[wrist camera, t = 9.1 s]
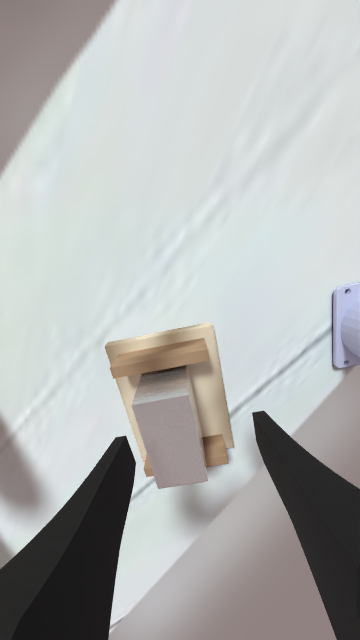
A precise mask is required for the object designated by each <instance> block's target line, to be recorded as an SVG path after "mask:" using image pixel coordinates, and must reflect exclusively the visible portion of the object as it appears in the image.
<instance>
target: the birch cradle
mask: <svg viewBox="0 0 360 640" xmlns="http://www.w3.org/2000/svg"><path fill="white" fill-rule="evenodd" d="M105 349H106V352H107V355H108V358H109V361H110V364H111V367H110V370H111V373H112V376H113V379H114V378H115V379H116V382H117V385H118V388H119V391H120V394H121V397H122V400H123V403H124V406H125V409H126V412H127V415H128V418H129V421H130V424H131V427H132V430H133V433H134V436H135V439H136V442H137V445H138V448H139V451H140V454H141V457H142V460H143V462H145V466H144V471H145V474H146V477H149V476H154V474H153V471H152V468H151V465H150V462H149V459H148V455H147V452H146V449H145V446H144V443H143V440H142V437H141V434H140V431H139V427H138V424H137V421H136V418H135V415H134V412H133V409H132V406H131V405H132V402H133V399H134V396H135V392H136V389H137V386H138V383H139V380H140V377H141V374H142V373H146V372H151V371H157V370H162V369H167V368H173V367H178V366H183V365H188V370H189V374H190V379H191V384H192V388H193V393H194V397H195V402H196V407H197V411H198V416H199V420H200V425H201V431H202V439H203V446H204V454H205V462H206V467H211V466H217V465H223V464H229V463H228V457H227V453H226V448H232V447H234V445H233V439H232V433H231V427H230V421H229V416H228V410H227V404H226V398H225V392H224V386H223V380H222V374H221V368H220V362H219V357H218V351H217V345H216V339H215V333H214V327H213V324H212V322H209V323H204V324H199V325H193V326H188V327H183V328H178V329H173V330H168V331H163V332H158V333H153V334H148V335H143V336H138V337H133V338H128V339H123V340H118V341H113V342H108V343H107V344H106V346H105Z"/></svg>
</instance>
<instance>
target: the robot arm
mask: <svg viewBox="0 0 360 640" xmlns="http://www.w3.org/2000/svg"><path fill="white" fill-rule="evenodd" d="M346 289H347V292H346V293H345V290H346ZM344 361H346V362H345V363H344ZM333 364H334V365H335V366H336V367H337V368H343V367H349V366H354V365H360V282H359V283H354V284H349V285H344V286H339V287H337V288H336V289H335V290H334V293H333ZM252 414H253V421H254V428H255V435H256V441H257V444H258V447H259V450H260V453H261V455H262V458H263V461H264V463H265V465H266V468H267V470H268V472H269V474H270V476H271V478H272V480H273V482H274V484H275V486H276V489H277V490H278V493H279V495H280V497H281V499H282V501H283V503H284V505H285V507H286V509H287V511H288V514H289V516H290V518H291V521H292V523H293V525H294V528H295V530H296V533H297V535H298V538H299V540H300V543H301V546H302V548H303V551H304V553H305V556H306V559H307V561H308V564H309V566H310V569H311V572H312V574H313V577H314V579H315V582H316V585H317V587H318V590H319V593H320V595H321V598H322V601H323V603H324V606H325V609H326V611H327V614H328V617H329V619H330V622H331V625H332V627H333V630H334V633H335V636H336V639H337V640H360V489H359V488H357V487H355V486H354V485H353V484H351V483H349V482H348V481H347V480H345V479H344V478H342V477H341V476H339V475H338V474H336V473H335V472H333V471H332V470H331V469H329V468H328V467H327V466H325V465H324V464H323V463H321V462H320V461H319V460H317V459H316V458H315V457H314V456H312V455H311V454H310V453H309V452H307V451H306V450H305V449H304V448H303V447H301V446H300V445H299V444H298V443H297V442H296V441H294V440H293V439H292V438H291V437H290V436H289V435H288V434H287V433H286V432H285V431H284V430H283V429H282V428H281V427H280V426H279V425H277V424H276V423H275V422H274V421H273V419H272V418H271V417H270V416H269V415H268V414H267V413H266V412H265V411H259V412H254V413H252ZM135 466H136V462H135V459H134V456H133V454H132V451H131V448H130V445H129V443H128V440H127V437H126V436H122V437H116V438H115V439H114V441H113V442H112V443H111V445H110V446H109V448H108V449H107V450H106V452H105V453H104V455H103V456H102V458H101V459H100V460H99V462H98V463H97V464H96V466H95V467H94V469H93V470H92V471H91V473H90V474H89V475H88V477H87V478H86V479H85V481H84V482H83V483H82V484H81V486H80V487H79V488H78V489H77V491H76V492H75V493H74V495H73V496H72V497H71V498H70V499H69V500H68V502H67V503H66V504H65V505H64V506H63V507H62V509H61V510H60V511H59V512H58V513H57V514H56V515H55V516H54V517H53V519H52V520H51V521H50V522H49V523H48V524H47V525H46V526H45V527H44V528H43V529H42V530H41V531H40V532H39V533H38V534H37V535H36V536H35V537H34V538H33V539H32V540H31V541H30V542H29V543H28V544H27V545H26V546H25V547H24V548H23V549H22V550H21V551H20V552H19V553H18V554H17V555H16V556H14V557H13V558H12V559H11V560H10V561H9V562H8V563H7V564H6V565H5V566H4V567H2V568H1V569H0V640H108V637H109V627H110V618H111V609H112V601H113V594H114V586H115V578H116V571H117V564H118V557H119V550H120V545H121V539H122V534H123V530H124V525H125V521H126V516H127V512H128V507H129V503H130V498H131V494H132V489H133V484H134V476H135Z"/></svg>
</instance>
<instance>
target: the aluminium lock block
mask: <svg viewBox="0 0 360 640" xmlns="http://www.w3.org/2000/svg"><path fill="white" fill-rule="evenodd" d="M131 406H132V409H133V412H134V415H135V418H136V421H137V424H138V427H139V431H140V434H141V437H142V440H143V443H144V446H145V449H146V452H147V455H148V459H149V462H150V465H151V468H152V471H153V474H154V477H155V480H156V484H157V487H158V489H161V488H167V487H173V486H180V485H186V484H192V483H199V482H205V481H208V477H207V469H206V462H205V454H204V446H203V439H202V431H201V425H200V420H199V416H198V411H197V407H196V402H195V397H194V393H193V388H192V384H191V379H190V374H189V370H188V365H183V366H178V367H173V368H167V369H162V370H157V371H151V372H146V373H142V374H141V377H140V380H139V383H138V386H137V389H136V392H135V396H134V399H133V402H132V405H131Z"/></svg>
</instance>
